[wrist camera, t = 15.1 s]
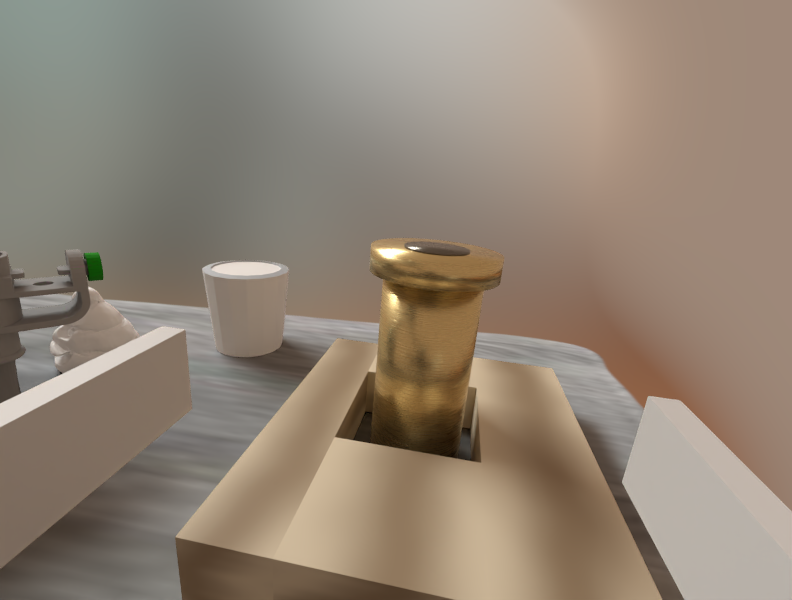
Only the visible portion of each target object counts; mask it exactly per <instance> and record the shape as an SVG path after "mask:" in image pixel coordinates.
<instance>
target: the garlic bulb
mask: <svg viewBox="0 0 792 600" xmlns="http://www.w3.org/2000/svg"><path fill="white" fill-rule="evenodd" d="M88 289H89V295H90V308H89V310H88V312H87V313H86V315H85V316H84V317H83V318H81V319H80V320H78V321H76V322H74V323H71V324H67V325H61V326H60V327H59V328H57V329H56V330H55V331H54V333H53V337H52V339H53V340H52V342H51V344H50V350H51V353H52V354H53V355H54V356H55V366H56V368H57V369H58V370H59V371H60V372H62V373H65V372H67V371H69V370H72V369H74V368H76V367H78V366H80V365H82V364H84V363H86V362H88V361H90V360H93V359H95V358H97V357H99V356H101V355H103V354H105V353H107V352H109V351H111V350H114V349H116V348H118V347H120V346H122V345H124V344H126V343H128V342H130V341H132V340H134V339H137V338H139V337H140V335H139V334H138V332H137V331H136V330H134V328H133V326H132V324H131V323H130V322H129V321H128V320H127V319H125V318H124V317H123V316H122V315H121V314H120V312H119V311H118V310H117V309H116V308H114V307H113V306H112V305H110V304H109V303H107V302H105V301H104V300H103V298H102V297H101V296H100V295H99V293H98V292H97V291H96V290H94V289H93V288H90V287H88ZM76 293H77V292H75V293H74V294H73V296H72V299H73V298H74V297H75V296H76Z"/></svg>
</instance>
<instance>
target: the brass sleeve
mask: <svg viewBox="0 0 792 600" xmlns="http://www.w3.org/2000/svg"><path fill="white" fill-rule="evenodd" d="M503 263H504V256H503V255H501V254H500V253H498V252H495V251H493V250H490V249H486V248H482V247H478V246H474V245H468V244H462V243H457V242H450V241H441V240H431V239H414V238H395V239H393V238H392V239H382V240H377V241H374V242H373V243H372V244H371V256H370V271H371V272H372V274H374V275H375V276H377V277H379V278H381V279H383V286H382V300H381V313H380V325H379V338H378V350H377V363H376V376H375V389H374V402H373V415H372V428H371V441H370V443H371V444H377V445H382V446H388V447H394V448H399V449H405V450H411V451H416V452H422V453H428V454H433V455H439V456H445V457H451V458H456V459H457V457H458V451H459V444H460V438H461V432H462V425H463V419H464V413H465V406H466V400H467V394H468V387H469V381H470V374H471V368H472V362H473V355H474V349H475V343H476V336H477V329H478V324H479V317H480V311H481V305H482V298H483V292H484V290H489V289H493V288H495V287H497V286H498V285H499V284H500V281H501V275H502V269H503Z"/></svg>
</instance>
